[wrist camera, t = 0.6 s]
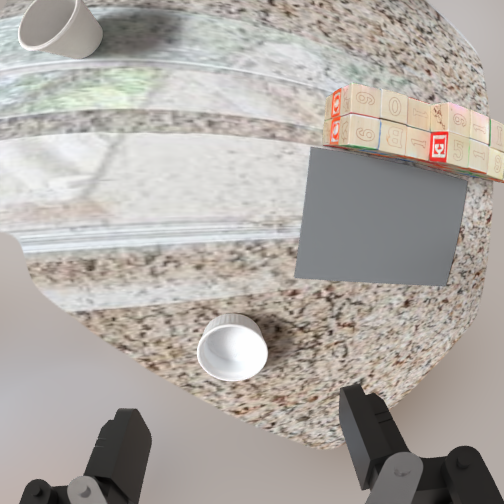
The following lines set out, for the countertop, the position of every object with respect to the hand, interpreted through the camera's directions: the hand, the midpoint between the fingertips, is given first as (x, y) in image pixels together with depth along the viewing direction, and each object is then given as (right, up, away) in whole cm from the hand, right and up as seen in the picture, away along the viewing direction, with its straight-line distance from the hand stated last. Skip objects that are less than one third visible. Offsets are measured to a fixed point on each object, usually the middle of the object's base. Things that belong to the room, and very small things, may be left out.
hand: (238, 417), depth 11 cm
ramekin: (-2, -5, +31) cm, 31 cm away
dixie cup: (-21, +34, +18) cm, 44 cm away
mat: (+19, +10, +27) cm, 34 cm away
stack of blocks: (+19, +21, +24) cm, 37 cm away
